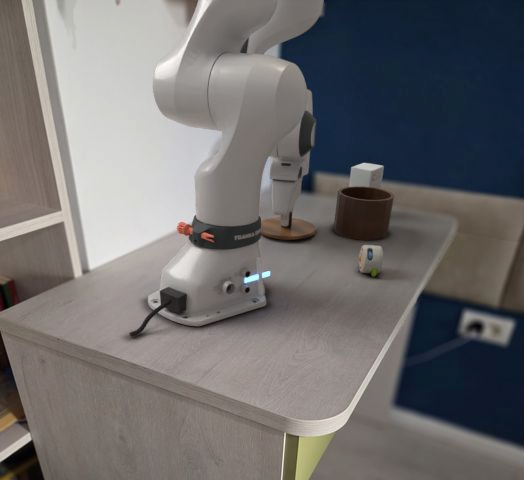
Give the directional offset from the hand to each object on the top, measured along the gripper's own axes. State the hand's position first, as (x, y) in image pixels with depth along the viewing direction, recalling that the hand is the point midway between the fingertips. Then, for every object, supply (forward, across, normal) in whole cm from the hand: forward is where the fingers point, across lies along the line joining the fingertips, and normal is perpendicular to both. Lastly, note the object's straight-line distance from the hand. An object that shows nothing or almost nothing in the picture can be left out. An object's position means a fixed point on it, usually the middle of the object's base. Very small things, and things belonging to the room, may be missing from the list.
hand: (286, 222), depth 123 cm
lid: (+2, 0, 0) cm, 2 cm away
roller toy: (+3, +19, +21) cm, 29 cm away
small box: (+3, -23, +18) cm, 29 cm away
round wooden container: (+3, -8, +18) cm, 20 cm away
